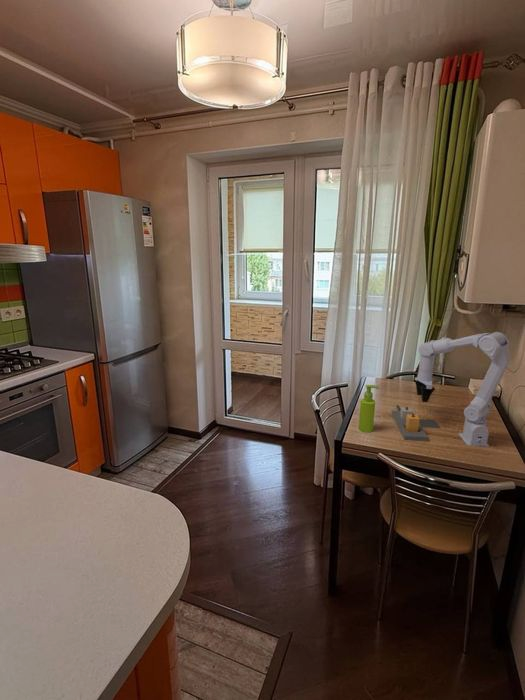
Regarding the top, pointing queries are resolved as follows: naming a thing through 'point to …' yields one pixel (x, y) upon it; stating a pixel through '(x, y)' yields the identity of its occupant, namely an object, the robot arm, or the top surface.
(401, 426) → the grey panel with knob
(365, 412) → the soap dispenser
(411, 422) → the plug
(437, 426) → the mat
